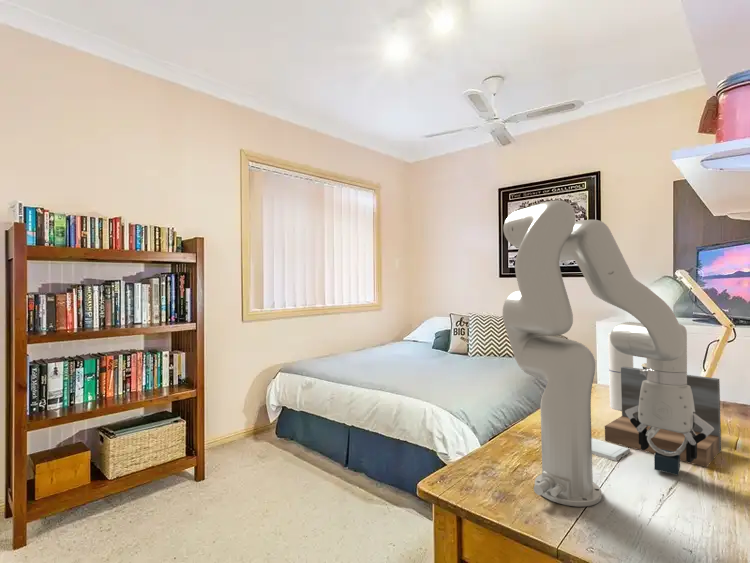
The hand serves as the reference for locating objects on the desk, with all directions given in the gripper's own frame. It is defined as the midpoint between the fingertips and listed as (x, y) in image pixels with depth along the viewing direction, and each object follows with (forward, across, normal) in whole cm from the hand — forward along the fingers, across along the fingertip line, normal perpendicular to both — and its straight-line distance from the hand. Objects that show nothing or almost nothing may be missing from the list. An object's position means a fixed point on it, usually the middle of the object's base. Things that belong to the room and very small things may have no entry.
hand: (666, 454), depth 94 cm
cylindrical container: (+3, -25, +43) cm, 50 cm away
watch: (+3, 0, 0) cm, 3 cm away
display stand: (+3, -6, +16) cm, 17 cm away
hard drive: (+5, -16, +2) cm, 17 cm away
